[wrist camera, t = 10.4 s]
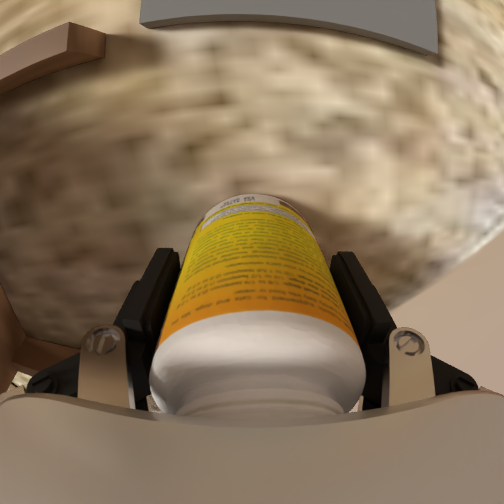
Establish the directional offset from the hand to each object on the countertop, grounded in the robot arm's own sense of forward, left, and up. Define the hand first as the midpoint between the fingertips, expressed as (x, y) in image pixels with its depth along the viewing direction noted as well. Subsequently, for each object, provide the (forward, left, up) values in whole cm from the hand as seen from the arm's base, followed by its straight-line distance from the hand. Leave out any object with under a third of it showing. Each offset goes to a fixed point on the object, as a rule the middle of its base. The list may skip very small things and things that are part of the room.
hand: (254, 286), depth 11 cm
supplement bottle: (0, 0, -3) cm, 3 cm away
